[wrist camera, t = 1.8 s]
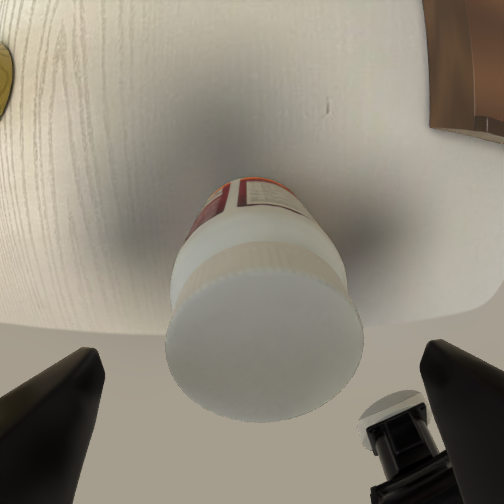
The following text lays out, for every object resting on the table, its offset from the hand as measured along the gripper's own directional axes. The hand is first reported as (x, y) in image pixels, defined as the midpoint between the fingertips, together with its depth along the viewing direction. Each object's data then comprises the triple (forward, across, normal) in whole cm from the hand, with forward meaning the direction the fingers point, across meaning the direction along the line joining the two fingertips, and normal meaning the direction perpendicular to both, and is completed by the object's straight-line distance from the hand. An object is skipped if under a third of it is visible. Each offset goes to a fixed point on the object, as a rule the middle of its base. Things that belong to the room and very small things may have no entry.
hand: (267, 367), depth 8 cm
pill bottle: (+12, 0, 0) cm, 12 cm away
